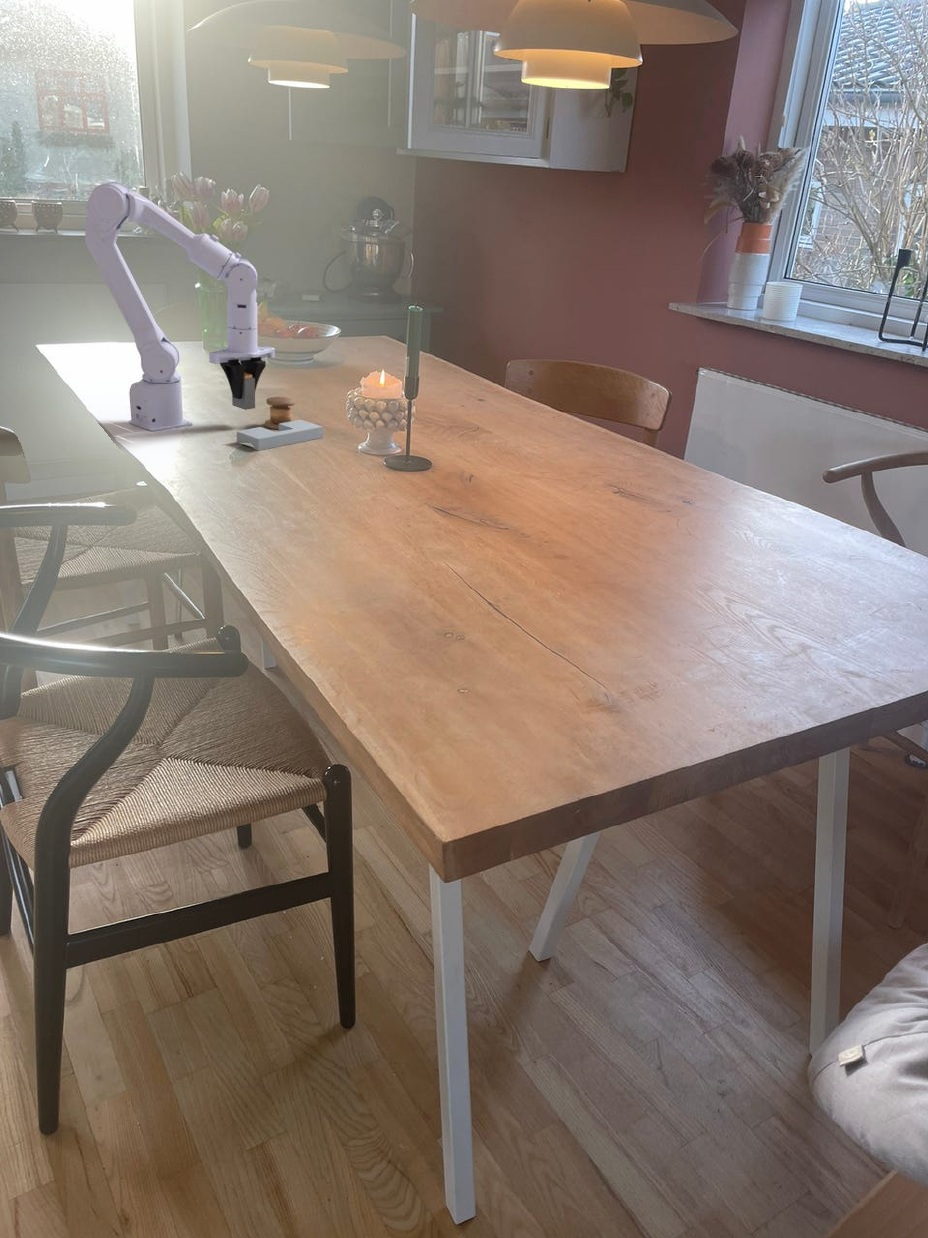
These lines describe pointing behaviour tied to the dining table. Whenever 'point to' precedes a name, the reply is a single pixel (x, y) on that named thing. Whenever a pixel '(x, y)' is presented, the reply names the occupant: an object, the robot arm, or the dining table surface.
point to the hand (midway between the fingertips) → (243, 396)
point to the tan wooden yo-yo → (279, 411)
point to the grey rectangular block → (246, 393)
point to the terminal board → (280, 435)
